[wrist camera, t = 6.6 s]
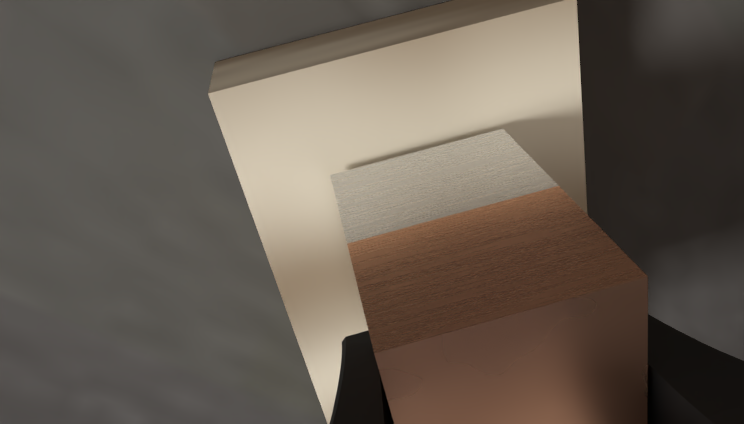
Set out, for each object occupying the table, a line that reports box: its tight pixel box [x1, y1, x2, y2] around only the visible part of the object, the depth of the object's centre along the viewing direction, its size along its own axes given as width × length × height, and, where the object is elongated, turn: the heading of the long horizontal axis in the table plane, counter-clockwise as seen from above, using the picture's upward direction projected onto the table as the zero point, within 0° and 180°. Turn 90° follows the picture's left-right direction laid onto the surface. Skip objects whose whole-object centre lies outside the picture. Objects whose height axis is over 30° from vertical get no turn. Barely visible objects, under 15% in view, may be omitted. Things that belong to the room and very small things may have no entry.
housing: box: [330, 129, 648, 424], centre depth 13 cm, size 7×4×6 cm, turn 12°
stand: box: [208, 0, 587, 424], centre depth 17 cm, size 12×8×2 cm, turn 12°
